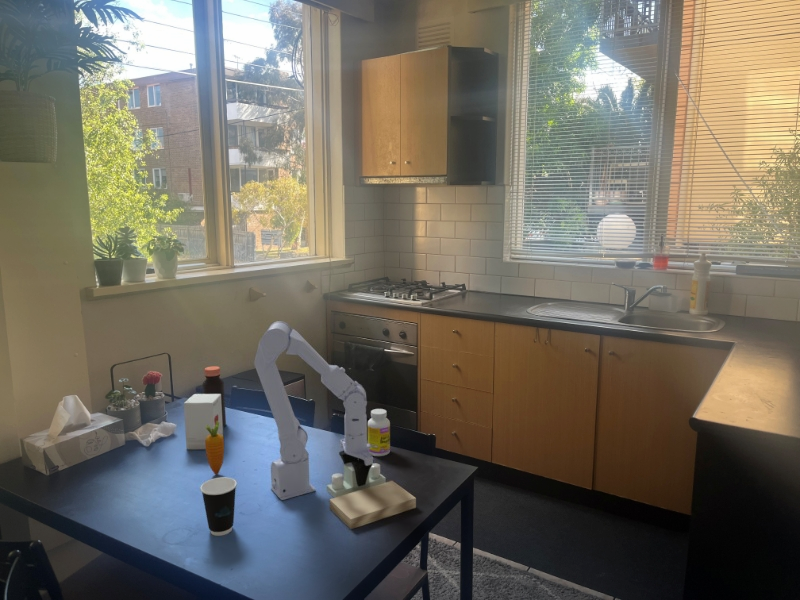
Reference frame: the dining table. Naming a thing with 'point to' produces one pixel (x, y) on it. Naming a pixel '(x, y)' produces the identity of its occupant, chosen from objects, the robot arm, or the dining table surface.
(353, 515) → the shelf board
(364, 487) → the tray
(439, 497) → the dining table surface
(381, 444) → the supplement bottle
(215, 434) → the carrot
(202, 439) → the supplement box
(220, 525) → the dixie cup
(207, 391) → the vinegar
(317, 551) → the dining table surface
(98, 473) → the dining table surface
